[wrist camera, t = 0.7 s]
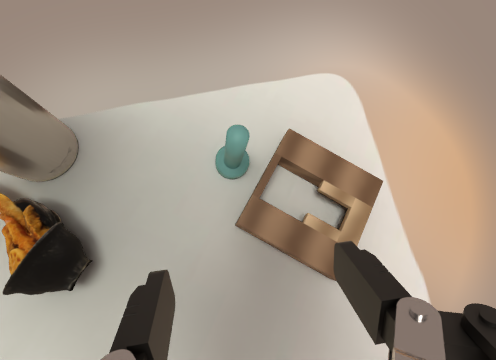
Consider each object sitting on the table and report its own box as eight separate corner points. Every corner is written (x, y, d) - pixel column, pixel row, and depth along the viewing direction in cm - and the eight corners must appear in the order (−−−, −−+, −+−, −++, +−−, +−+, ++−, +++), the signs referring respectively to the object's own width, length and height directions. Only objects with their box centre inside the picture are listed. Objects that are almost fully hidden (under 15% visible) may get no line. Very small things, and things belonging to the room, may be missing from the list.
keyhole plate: (235, 225, 38) (236, 223, 35) (283, 137, 42) (289, 128, 39) (330, 279, 38) (342, 282, 35) (369, 185, 42) (383, 181, 39)
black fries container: (45, 332, 28) (-166, 261, 23) (86, 270, 39) (-52, 211, 33) (88, 267, 27) (-124, 177, 22) (118, 222, 38) (-20, 153, 32)
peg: (209, 168, 40) (207, 142, 29) (225, 142, 41) (229, 107, 30) (238, 184, 40) (246, 164, 29) (253, 157, 41) (267, 128, 30)
